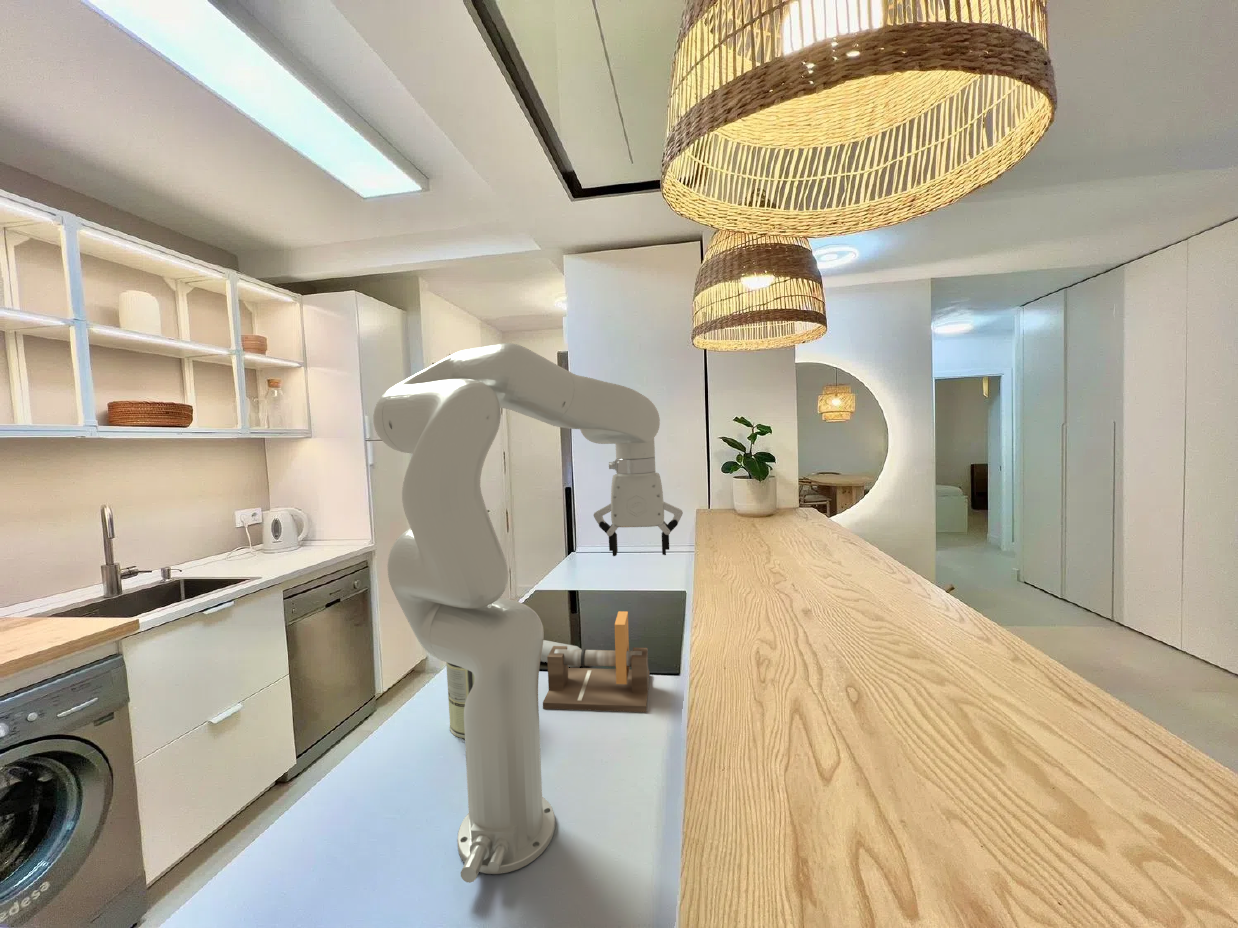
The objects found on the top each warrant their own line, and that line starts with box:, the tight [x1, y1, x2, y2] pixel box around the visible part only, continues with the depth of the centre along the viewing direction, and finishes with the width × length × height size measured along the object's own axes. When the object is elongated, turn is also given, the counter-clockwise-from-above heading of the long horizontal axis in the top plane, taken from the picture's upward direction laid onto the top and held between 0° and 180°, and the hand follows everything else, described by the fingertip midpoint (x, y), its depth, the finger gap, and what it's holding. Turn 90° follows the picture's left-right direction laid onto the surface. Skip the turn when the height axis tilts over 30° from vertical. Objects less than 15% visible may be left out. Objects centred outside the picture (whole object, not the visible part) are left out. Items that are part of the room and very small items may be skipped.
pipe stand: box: [542, 646, 650, 713], centre depth 99 cm, size 14×20×9 cm
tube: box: [540, 639, 582, 668], centre depth 115 cm, size 5×5×25 cm
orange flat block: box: [614, 610, 630, 684], centre depth 98 cm, size 7×2×12 cm, turn 174°
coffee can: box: [445, 662, 475, 739], centre depth 89 cm, size 10×10×14 cm
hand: (639, 553), depth 95 cm, fingers open, 9 cm apart
